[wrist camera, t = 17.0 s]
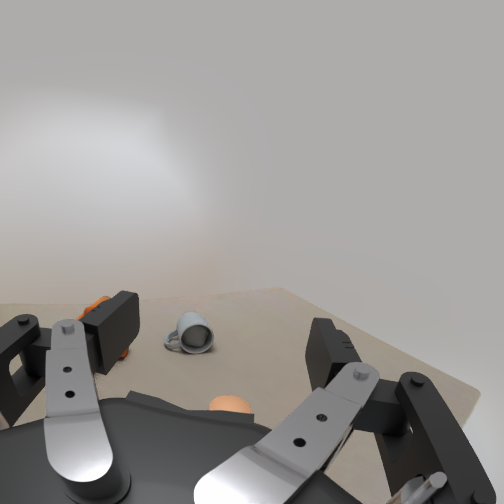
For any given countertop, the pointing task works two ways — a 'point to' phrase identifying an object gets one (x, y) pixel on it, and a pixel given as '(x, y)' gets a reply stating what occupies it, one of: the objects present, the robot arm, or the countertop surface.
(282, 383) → the countertop surface
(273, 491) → the robot arm
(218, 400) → the cylinder
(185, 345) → the ceramic mug
